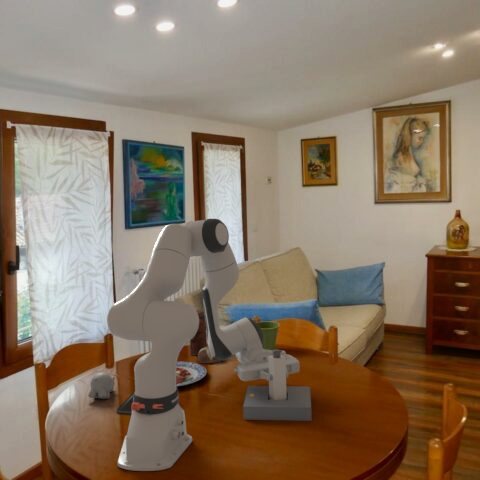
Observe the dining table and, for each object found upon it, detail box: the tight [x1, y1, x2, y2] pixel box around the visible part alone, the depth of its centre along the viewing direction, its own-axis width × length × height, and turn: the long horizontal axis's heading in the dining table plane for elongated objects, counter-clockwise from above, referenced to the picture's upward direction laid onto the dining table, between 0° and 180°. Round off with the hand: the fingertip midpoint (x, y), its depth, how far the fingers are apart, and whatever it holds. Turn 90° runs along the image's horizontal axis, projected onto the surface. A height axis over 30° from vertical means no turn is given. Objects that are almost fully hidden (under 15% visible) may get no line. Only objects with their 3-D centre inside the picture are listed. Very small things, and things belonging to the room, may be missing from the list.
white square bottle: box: [268, 348, 287, 400], centre depth 155 cm, size 4×4×17 cm
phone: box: [116, 392, 134, 415], centre depth 163 cm, size 8×1×15 cm
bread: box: [197, 346, 223, 365], centre depth 205 cm, size 11×11×5 cm
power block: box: [242, 385, 313, 422], centre depth 156 cm, size 16×20×4 cm
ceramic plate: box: [176, 361, 207, 388], centre depth 185 cm, size 26×26×3 cm
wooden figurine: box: [189, 309, 208, 356], centre depth 215 cm, size 12×6×18 cm, turn 170°
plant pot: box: [255, 320, 281, 350], centre depth 214 cm, size 12×12×11 cm
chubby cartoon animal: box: [87, 371, 116, 400], centre depth 170 cm, size 7×12×8 cm, turn 165°
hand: (278, 376), depth 154 cm, fingers closed on white square bottle, 4 cm apart
